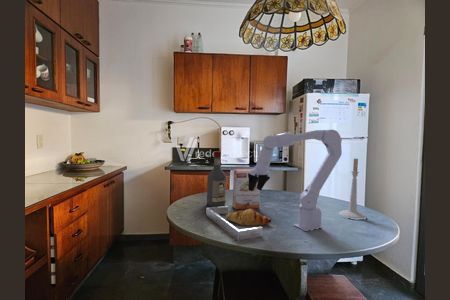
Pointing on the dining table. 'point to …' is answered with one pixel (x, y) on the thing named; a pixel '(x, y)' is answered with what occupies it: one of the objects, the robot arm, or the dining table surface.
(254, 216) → the croissant
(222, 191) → the liquor
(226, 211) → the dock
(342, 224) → the dining table surface
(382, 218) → the dining table surface
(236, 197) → the cracker box
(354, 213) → the candlestick
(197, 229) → the dining table surface
